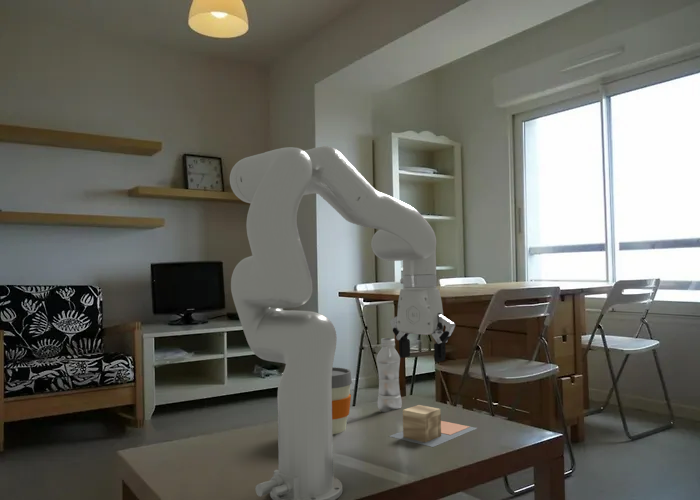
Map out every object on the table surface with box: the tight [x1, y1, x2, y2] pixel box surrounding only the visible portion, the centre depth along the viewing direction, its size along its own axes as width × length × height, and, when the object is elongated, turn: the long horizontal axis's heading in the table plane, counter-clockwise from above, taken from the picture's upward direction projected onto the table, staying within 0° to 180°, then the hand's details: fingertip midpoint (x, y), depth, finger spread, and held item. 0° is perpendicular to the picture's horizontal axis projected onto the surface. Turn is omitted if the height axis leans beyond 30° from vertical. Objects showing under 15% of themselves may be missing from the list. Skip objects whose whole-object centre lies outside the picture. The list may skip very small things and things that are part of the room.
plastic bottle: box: [376, 337, 403, 413], centre depth 149 cm, size 6×7×20 cm
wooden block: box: [402, 404, 442, 442], centre depth 121 cm, size 6×6×6 cm
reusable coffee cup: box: [332, 366, 353, 435], centre depth 129 cm, size 12×13×15 cm
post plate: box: [388, 420, 478, 448], centre depth 125 cm, size 18×12×6 cm, turn 136°
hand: (421, 359), depth 122 cm, fingers open, 9 cm apart
